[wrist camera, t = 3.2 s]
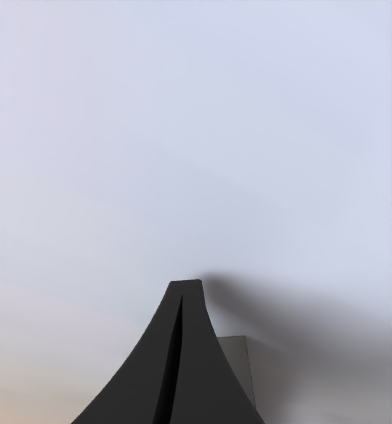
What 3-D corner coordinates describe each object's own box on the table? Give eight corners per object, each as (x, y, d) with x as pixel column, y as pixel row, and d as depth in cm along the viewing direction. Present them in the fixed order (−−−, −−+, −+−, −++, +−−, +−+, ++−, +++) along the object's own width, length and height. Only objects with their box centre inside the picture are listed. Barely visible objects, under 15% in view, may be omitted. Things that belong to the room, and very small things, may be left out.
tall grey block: (249, 420, 21) (259, 494, 17) (183, 422, 21) (180, 495, 18) (244, 335, 16) (256, 414, 12) (159, 340, 16) (146, 418, 13)
